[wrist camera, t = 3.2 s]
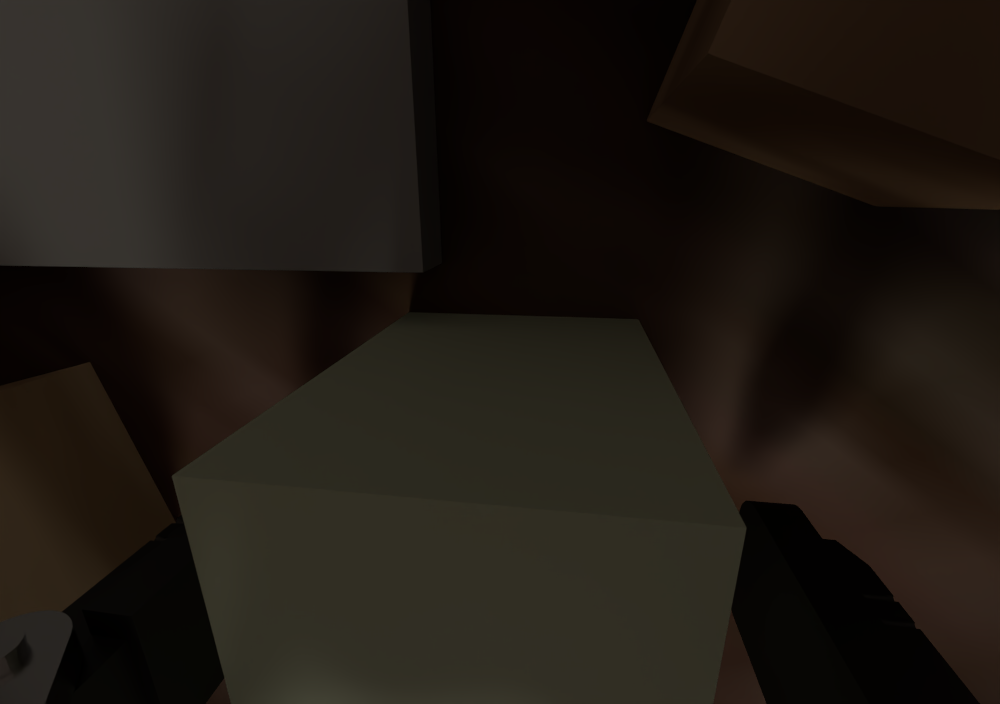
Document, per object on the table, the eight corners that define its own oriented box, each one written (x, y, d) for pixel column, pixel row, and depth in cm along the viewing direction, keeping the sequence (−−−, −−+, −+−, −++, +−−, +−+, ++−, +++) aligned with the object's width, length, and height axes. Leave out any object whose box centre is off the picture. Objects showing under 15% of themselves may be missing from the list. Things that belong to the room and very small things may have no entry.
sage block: (637, 318, 9) (746, 527, 3) (612, 605, 11) (650, 1028, 5) (410, 311, 10) (171, 476, 4) (428, 584, 12) (293, 940, 6)
